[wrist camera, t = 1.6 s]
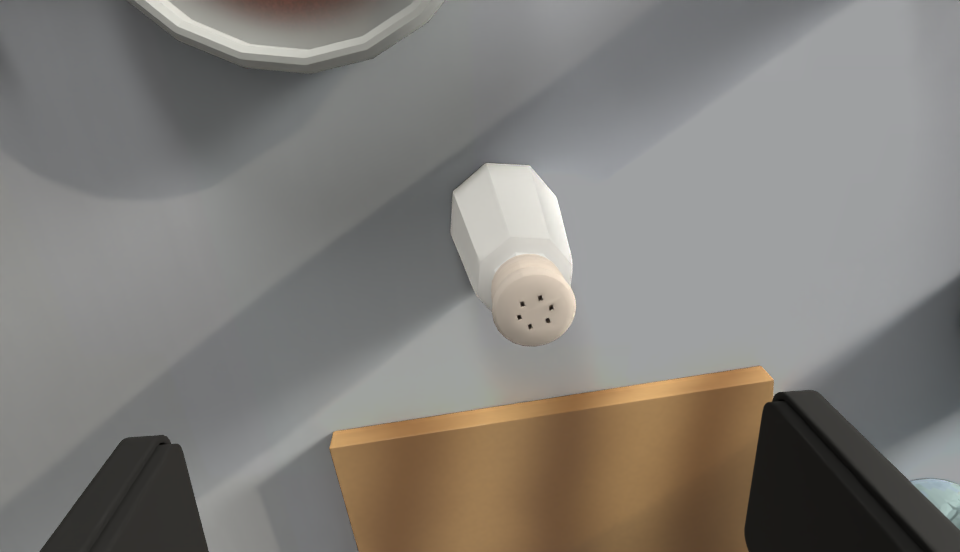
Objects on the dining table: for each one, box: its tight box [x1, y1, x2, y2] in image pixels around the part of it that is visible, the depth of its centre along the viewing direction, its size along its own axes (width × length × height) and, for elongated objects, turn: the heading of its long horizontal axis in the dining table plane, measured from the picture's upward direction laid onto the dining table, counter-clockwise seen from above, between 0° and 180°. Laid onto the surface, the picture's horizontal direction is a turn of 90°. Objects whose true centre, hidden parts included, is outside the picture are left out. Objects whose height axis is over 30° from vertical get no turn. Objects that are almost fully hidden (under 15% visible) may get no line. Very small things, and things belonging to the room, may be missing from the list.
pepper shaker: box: [450, 163, 576, 346], centre depth 26 cm, size 5×5×11 cm
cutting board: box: [329, 366, 774, 552], centre depth 38 cm, size 24×16×2 cm, turn 98°
